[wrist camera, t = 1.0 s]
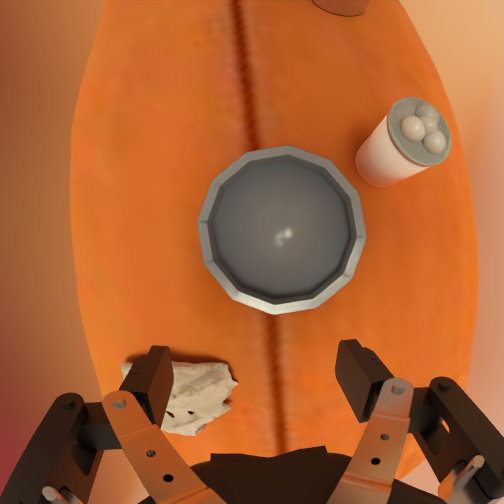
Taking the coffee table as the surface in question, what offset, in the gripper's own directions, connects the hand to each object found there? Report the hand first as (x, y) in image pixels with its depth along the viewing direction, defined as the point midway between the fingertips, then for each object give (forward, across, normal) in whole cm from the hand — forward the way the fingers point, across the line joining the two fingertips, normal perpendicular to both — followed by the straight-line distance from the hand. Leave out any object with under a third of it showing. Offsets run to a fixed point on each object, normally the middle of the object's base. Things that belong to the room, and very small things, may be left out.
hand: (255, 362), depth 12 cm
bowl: (+20, -4, -3) cm, 21 cm away
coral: (+19, +9, +18) cm, 28 cm away
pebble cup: (+20, -16, -12) cm, 28 cm away
